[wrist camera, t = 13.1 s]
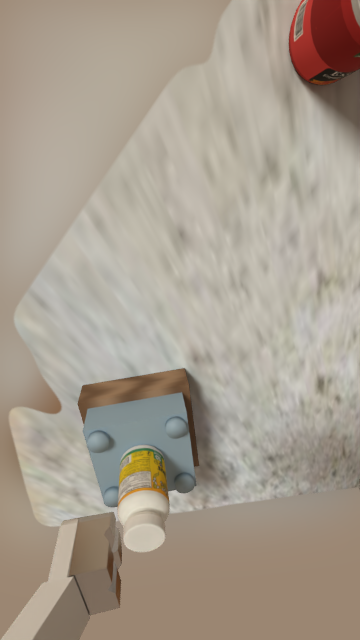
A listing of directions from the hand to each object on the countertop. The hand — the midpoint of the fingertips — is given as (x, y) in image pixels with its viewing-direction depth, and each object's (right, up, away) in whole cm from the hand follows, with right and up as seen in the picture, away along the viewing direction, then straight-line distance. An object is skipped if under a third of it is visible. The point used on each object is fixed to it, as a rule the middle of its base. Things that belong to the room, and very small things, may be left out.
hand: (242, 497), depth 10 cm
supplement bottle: (-7, -11, +29) cm, 32 cm away
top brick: (-7, -10, +33) cm, 35 cm away
